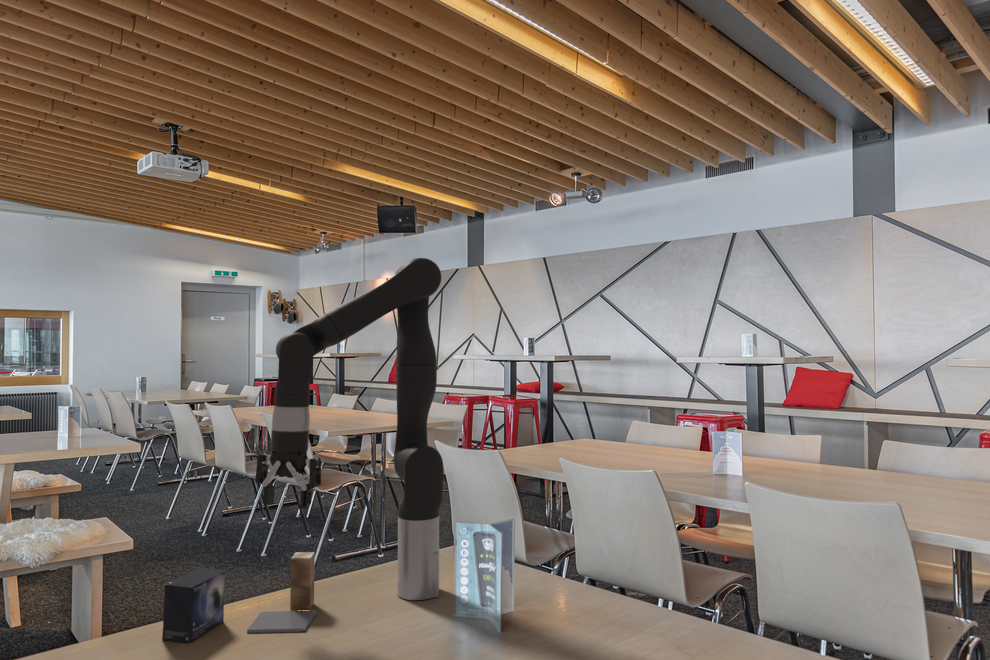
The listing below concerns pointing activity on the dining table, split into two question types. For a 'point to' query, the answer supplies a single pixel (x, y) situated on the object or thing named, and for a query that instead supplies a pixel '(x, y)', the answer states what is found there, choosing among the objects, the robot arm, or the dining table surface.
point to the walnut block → (302, 581)
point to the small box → (193, 604)
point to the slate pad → (281, 621)
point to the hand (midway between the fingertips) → (286, 506)
